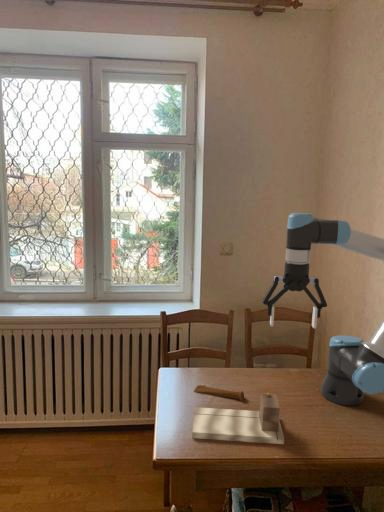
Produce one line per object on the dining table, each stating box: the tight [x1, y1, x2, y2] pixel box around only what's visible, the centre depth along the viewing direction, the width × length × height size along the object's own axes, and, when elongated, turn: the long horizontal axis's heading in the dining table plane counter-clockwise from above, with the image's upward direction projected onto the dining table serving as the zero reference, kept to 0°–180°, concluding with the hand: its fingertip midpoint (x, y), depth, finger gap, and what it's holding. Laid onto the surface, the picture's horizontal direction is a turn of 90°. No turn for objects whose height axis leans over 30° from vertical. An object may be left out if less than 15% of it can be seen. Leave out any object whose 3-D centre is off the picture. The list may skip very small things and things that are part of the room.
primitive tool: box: [193, 384, 245, 402], centre depth 145 cm, size 19×6×4 cm, turn 70°
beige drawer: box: [258, 392, 281, 432], centre depth 123 cm, size 5×8×9 cm, turn 176°
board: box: [191, 406, 285, 445], centre depth 124 cm, size 28×14×2 cm, turn 86°
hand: (292, 326), depth 125 cm, fingers open, 13 cm apart
